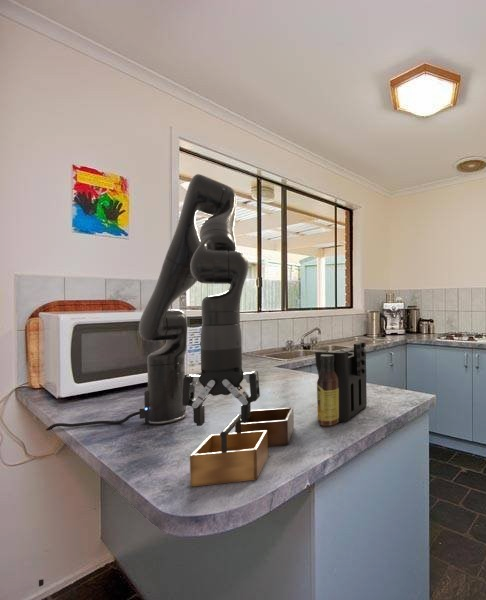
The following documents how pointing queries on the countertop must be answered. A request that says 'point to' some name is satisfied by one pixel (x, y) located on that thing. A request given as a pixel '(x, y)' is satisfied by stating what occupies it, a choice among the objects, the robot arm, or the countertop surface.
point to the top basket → (229, 456)
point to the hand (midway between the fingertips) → (222, 423)
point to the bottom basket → (271, 424)
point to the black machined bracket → (349, 379)
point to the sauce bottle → (327, 392)
